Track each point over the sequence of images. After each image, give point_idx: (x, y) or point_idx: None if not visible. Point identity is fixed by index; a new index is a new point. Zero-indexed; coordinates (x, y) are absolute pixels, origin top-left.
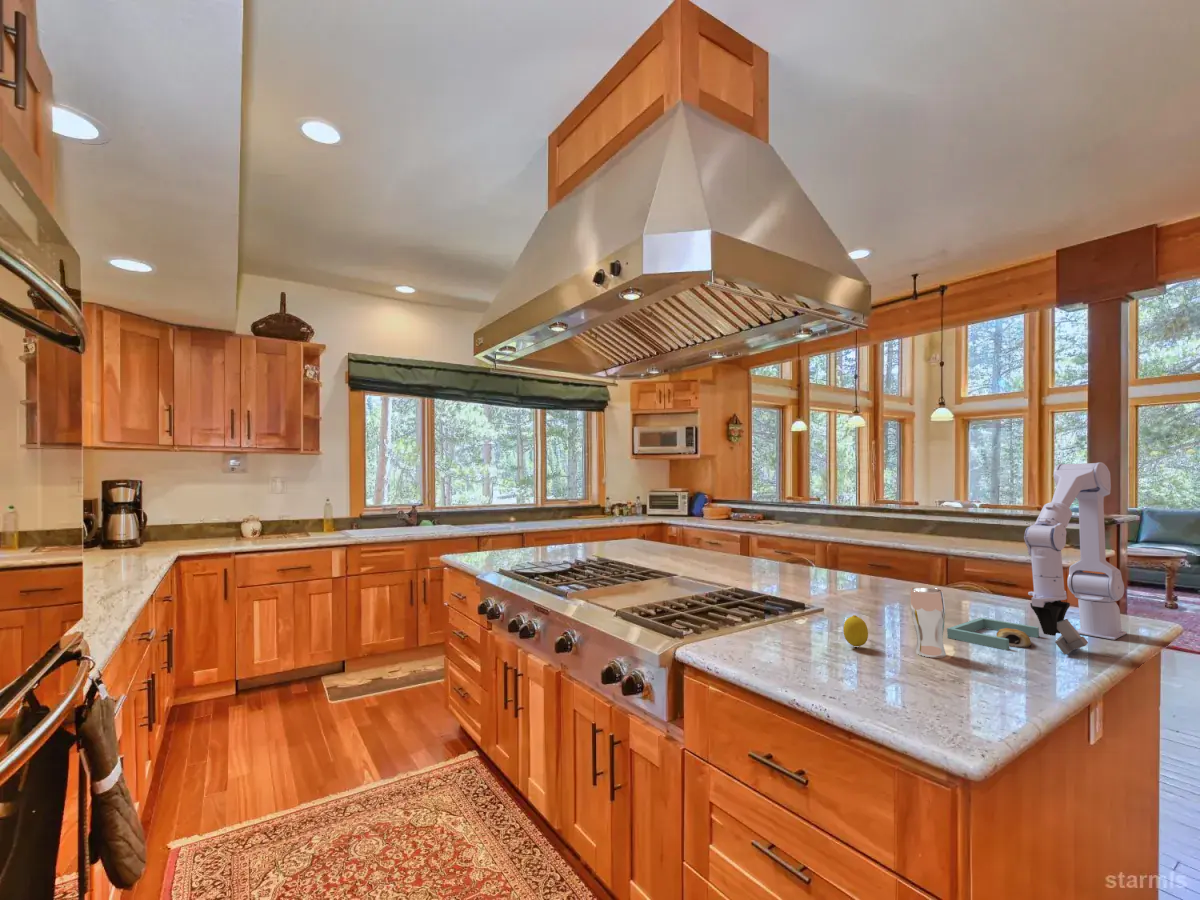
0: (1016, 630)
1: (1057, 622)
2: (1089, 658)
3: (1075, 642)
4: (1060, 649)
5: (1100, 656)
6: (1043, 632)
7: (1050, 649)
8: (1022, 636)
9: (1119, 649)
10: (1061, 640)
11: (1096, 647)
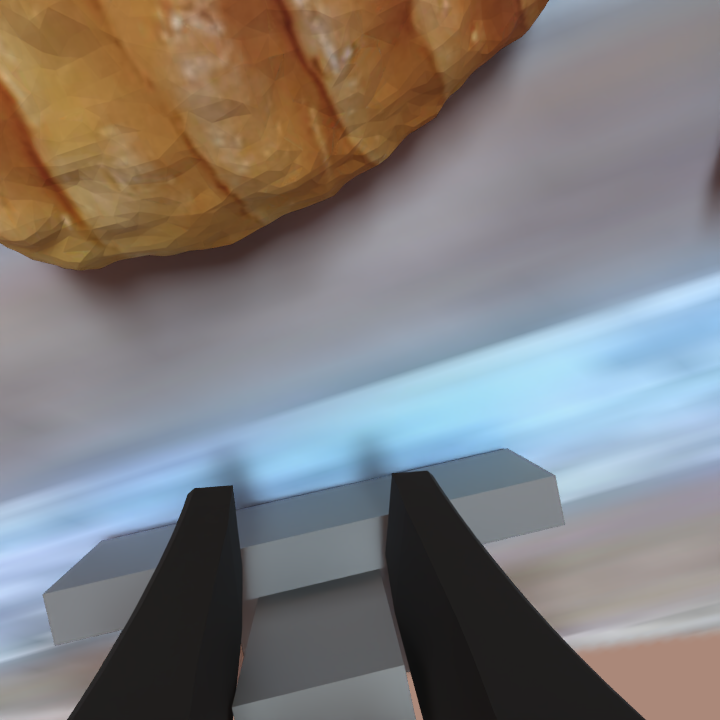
0: (141, 97)
1: (381, 702)
2: None
3: (244, 649)
4: (80, 560)
5: None
6: (189, 501)
7: (263, 383)
8: (14, 245)
9: (650, 592)
10: None
11: (621, 522)
